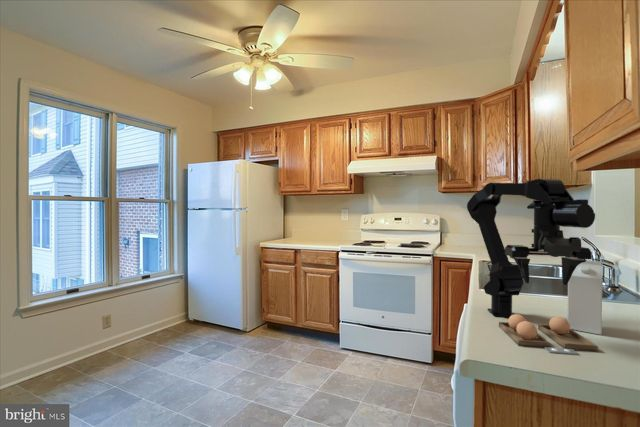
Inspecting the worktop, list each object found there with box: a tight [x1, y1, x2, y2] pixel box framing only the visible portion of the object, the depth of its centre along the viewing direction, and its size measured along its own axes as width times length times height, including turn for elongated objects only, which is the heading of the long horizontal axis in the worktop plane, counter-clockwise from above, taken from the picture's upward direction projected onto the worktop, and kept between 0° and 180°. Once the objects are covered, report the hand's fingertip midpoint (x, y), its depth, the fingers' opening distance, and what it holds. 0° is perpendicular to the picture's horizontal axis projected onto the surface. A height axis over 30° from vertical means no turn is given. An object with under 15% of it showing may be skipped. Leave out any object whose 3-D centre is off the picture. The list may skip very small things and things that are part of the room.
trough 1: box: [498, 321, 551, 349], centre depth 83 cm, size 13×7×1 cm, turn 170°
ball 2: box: [516, 321, 538, 340], centre depth 80 cm, size 4×4×4 cm
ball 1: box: [507, 313, 527, 331], centre depth 86 cm, size 4×4×4 cm
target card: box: [543, 346, 580, 356], centre depth 74 cm, size 2×6×1 cm, turn 80°
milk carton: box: [566, 259, 603, 335], centre depth 89 cm, size 7×7×19 cm
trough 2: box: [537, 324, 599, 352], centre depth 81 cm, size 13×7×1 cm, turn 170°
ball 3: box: [548, 316, 570, 334], centre depth 84 cm, size 4×4×4 cm
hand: (545, 283), depth 86 cm, fingers open, 9 cm apart
